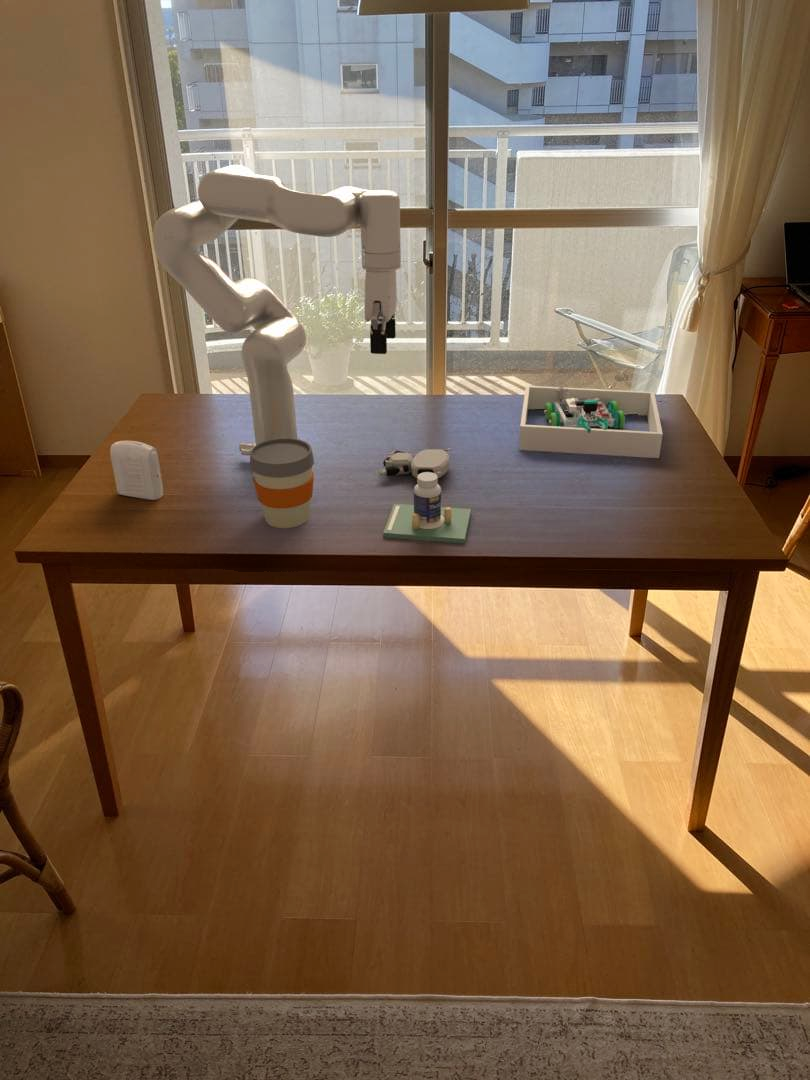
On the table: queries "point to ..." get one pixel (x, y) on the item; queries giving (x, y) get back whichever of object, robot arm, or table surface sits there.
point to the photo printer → (136, 470)
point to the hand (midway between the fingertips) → (383, 345)
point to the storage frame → (598, 438)
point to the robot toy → (417, 463)
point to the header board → (445, 530)
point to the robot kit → (583, 412)
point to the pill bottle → (427, 499)
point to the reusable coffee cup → (283, 480)
